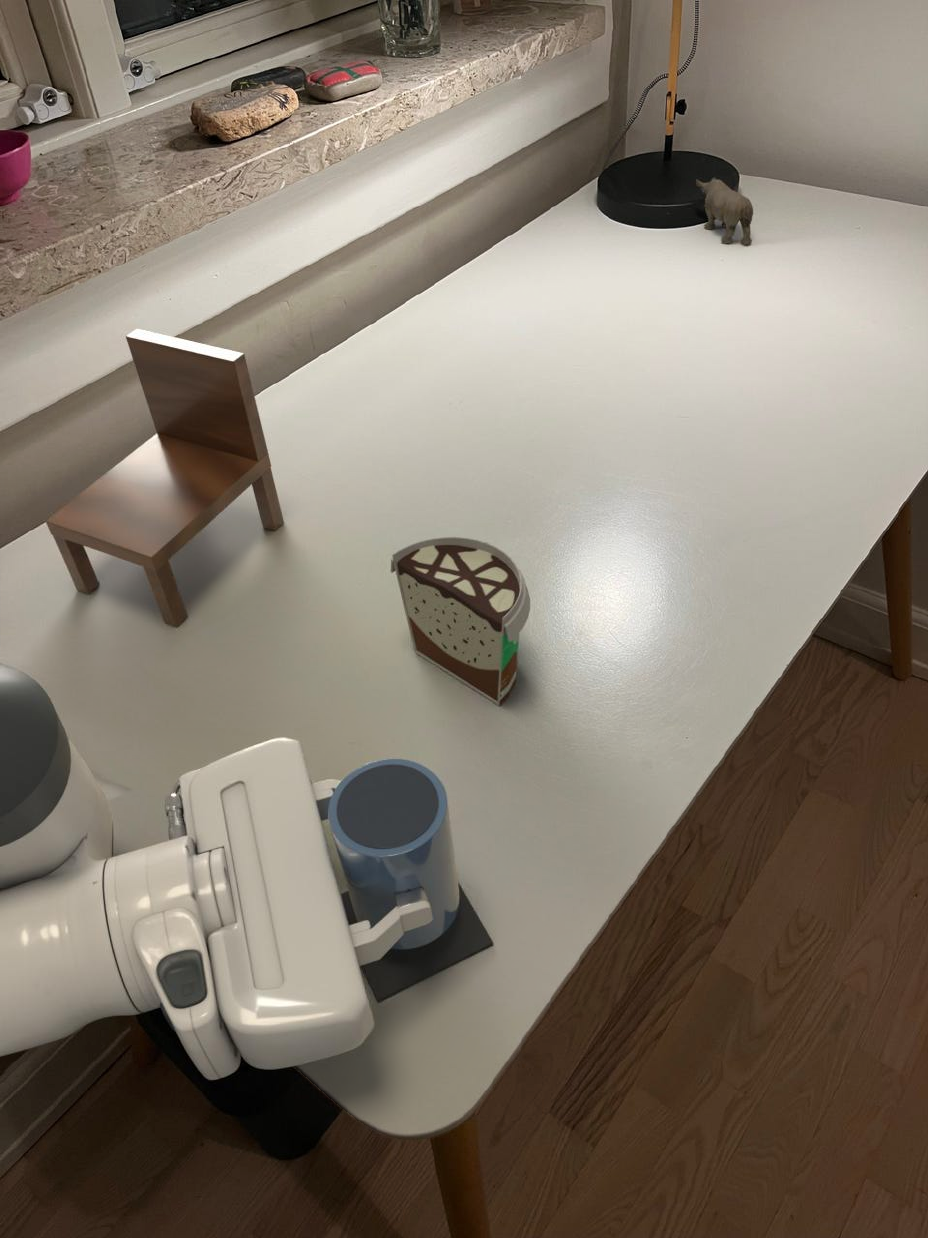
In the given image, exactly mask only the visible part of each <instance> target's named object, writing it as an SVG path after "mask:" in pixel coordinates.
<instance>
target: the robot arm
mask: <svg viewBox="0 0 928 1238" xmlns="http://www.w3.org/2000/svg"><path fill="white" fill-rule="evenodd" d="M341 781H342V780H339V779H334V778H327V779H324V780H320V781H317V782H314V783H313V782H312V779H311V774H310V771H309V767H308V763H307V760H306V755H305V752H304V748H303V745H302V743H301V741H299V740H298V739H294V738H290V737H285V736H279V737H278V736H277V737H274V738H271V739H268V740H264V741H262V742H259V743H257V744H253V745H251V746H248V747H245V748H243V749H240V750H238V751H235V752H233V753H230V754H228V755H225V756H224V757H221V758H219V759H217V760H214V761H212V762H210V763H209V764H207V765H205V766H204V767H201V768H198V769H194V770H190V771H188V772H185V773H184V774H182V775H181V776H180V778H179V779H178V780H177V781H176V782H175V784H174V785H173V787H172V788H171V792H170V793H169V794H167V796H166V797H165V800H164V811H165V815H166V817H167V821H168V831H167V832H168V833H167V835H168V840H165V841H163V842H159V843H156V844H152V845H149V846H145V847H142V848H139V849H135V850H132V851H129V852H125V853H122V854H118V855H114V822H113V815H112V811H111V808H110V807H111V806H110V804H109V802H108V799H107V796H106V795H105V793H104V792H103V789H102V788H101V786H100V785H99V784H98V782H97V780H96V778H94V776H93V774H92V772H91V770H90V768H89V767H88V765H87V763H86V762H85V761H84V759H83V758H82V756H81V754H80V753H79V752H78V750H77V748H76V747H75V745H74V744H73V742H72V741H71V739H70V738H69V736H68V735H67V731H66V729H65V727H64V725H63V722H62V720H61V718H60V716H59V714H58V711H57V710H56V708H55V706H54V703H53V701H52V698H51V697H50V696H49V694H48V693H47V691H46V690H45V689H44V687H42V685H41V684H40V683H39V682H38V681H37V680H36V679H34V678H33V677H31V676H30V675H29V674H27V673H26V672H24V671H22V670H20V669H18V668H16V667H14V666H11V665H8V664H5V663H1V662H0V1057H5V1056H8V1055H11V1054H14V1053H15V1054H16V1053H19V1052H23V1051H26V1050H29V1049H30V1050H31V1049H33V1048H37V1047H40V1046H44V1045H46V1044H49V1043H53V1042H57V1041H59V1040H61V1039H62V1040H63V1039H64V1038H67V1037H69V1036H71V1035H73V1034H74V1033H76V1032H77V1031H79V1030H80V1029H82V1028H84V1027H85V1026H87V1025H88V1024H91V1023H93V1022H95V1021H98V1020H102V1019H105V1018H111V1017H117V1016H118V1017H119V1016H120V1017H121V1016H122V1017H123V1016H127V1017H128V1016H136V1015H140V1014H143V1013H147V1012H151V1011H154V1010H156V1009H159V1008H160V1009H161V1011H162V1015H163V1016H164V1018H165V1020H166V1022H167V1023H168V1025H169V1026H170V1028H171V1029H172V1031H173V1032H175V1033H176V1035H177V1037H178V1039H179V1040H180V1043H181V1045H182V1046H183V1048H184V1050H185V1052H186V1054H187V1055H188V1057H189V1058H190V1059H191V1061H192V1062H193V1064H194V1066H195V1067H196V1068H197V1070H198V1071H199V1072H200V1074H201V1075H202V1076H203V1077H204V1078H205V1079H207V1080H208V1081H216V1080H219V1079H222V1078H223V1079H224V1078H225V1077H228V1076H230V1075H232V1074H234V1073H235V1072H236V1071H238V1069H239V1067H240V1065H241V1058H242V1059H243V1060H244V1061H245V1062H246V1063H247V1064H248V1065H250V1066H252V1067H254V1068H256V1069H260V1070H279V1069H286V1068H291V1067H295V1066H296V1067H297V1066H300V1065H304V1064H308V1063H314V1062H317V1061H321V1060H325V1059H329V1058H331V1057H335V1056H337V1055H342V1054H344V1053H346V1052H350V1051H352V1050H355V1049H356V1048H358V1047H360V1046H362V1044H363V1043H364V1042H365V1040H366V1039H368V1036H369V1035H370V1034H371V1033H372V1031H373V1029H374V1028H375V1019H374V1016H373V1011H372V1008H371V1004H370V1000H369V996H368V992H367V988H366V985H365V981H364V977H363V973H362V968H361V965H364V964H367V963H371V962H374V961H377V960H380V959H381V958H382V957H383V956H384V955H385V954H386V952H387V951H388V950H389V949H390V948H391V947H392V946H393V945H394V944H395V943H396V942H397V941H398V940H399V939H400V938H401V937H402V936H403V935H404V932H405V931H408V930H411V929H414V928H418V927H421V926H424V925H427V924H428V923H430V922H431V921H432V920H433V917H432V911H431V907H430V904H429V901H428V898H427V895H426V892H425V890H424V888H423V887H416V888H414V889H412V890H411V891H410V892H408V891H404V892H399V893H396V894H394V897H395V901H396V907H395V908H394V909H393V910H392V911H391V912H389V913H388V914H387V915H386V916H385V917H384V918H383V919H382V920H381V921H380V922H378V923H377V924H376V925H375V926H374V927H373V928H371V926H370V923H369V921H368V920H365V921H362V922H359V923H355V924H352V925H349V924H348V920H347V916H346V912H345V909H344V905H343V901H342V897H341V894H342V893H341V890H340V886H339V882H338V878H337V875H336V871H335V866H334V863H333V859H332V855H331V852H330V847H329V844H328V841H327V836H326V833H325V829H324V825H323V821H327V820H329V819H328V808H329V803H330V799H331V797H332V795H333V793H334V791H335V789H336V787H337V786H338V785H339V783H340V782H341ZM179 791H180V794H179Z"/></svg>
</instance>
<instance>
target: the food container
mask: <svg viewBox="0 0 928 1238" xmlns="http://www.w3.org/2000/svg"><path fill="white" fill-rule="evenodd" d="M394 572H395V574H396V579H397V583H398V587H399V591H400V596H401V600H402V605H403V608H404V613H405V617H406V622H407V625H408V630H409V634H410V638H411V642H412V647H413V651H414V653H415V654H416V655H418V656H419V657H421V658H423V659H424V660H426V661H427V662H429V663H431V664H432V665H434V666H435V667H436V668H438V669H440V670H442V671H443V672H445V673H446V674H447V675H450V676H451V677H452V678H454V679H456V680H457V681H459V682H460V683H462V684H463V685H465V686H467V687H468V688H470V689H471V690H473V691H474V692H476V693H478V694H479V695H481V697H484V698H485V699H487V700H488V701H489V702H492V703H493V704H495V705H496V706H497V707H501V706H502V705H503V704H504V703H505V702H506V701H507V700H508V698H509V697H510V695H511V693H512V691H513V689H514V688H515V685H516V679H517V678H516V677H517V665H518V655H519V643H520V642H519V641H520V633H521V631H523V629H524V628H525V625H526V623H527V621H528V619H529V615H530V612H531V611H530V610H531V597H530V594H529V593H530V592H529V589H528V586H527V583H526V579H525V578H524V575H523V573H522V571H521V569H520V568H519V567H518V565H517V563H516V562H515V561H514V560H513V558H511V557H510V556H509V555H508V554H507V553H506V552H505V551H503V550H502V549H500V548H498V547H497V546H496V545H493V544H491V543H489V542H486V541H483V540H479V539H474V538H469V537H461V536H443V537H436V538H429V539H424V540H420V541H418V542H415V543H412V544H409V545H406V546H405V547H403V548H401V549H399V550H398V551H396V552H394V553H393V554H392V558H391V559H390V573H391V574H392V573H394Z"/></svg>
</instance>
